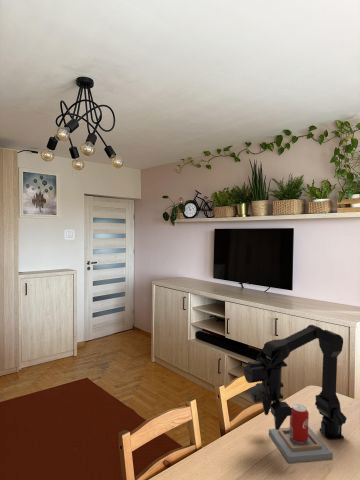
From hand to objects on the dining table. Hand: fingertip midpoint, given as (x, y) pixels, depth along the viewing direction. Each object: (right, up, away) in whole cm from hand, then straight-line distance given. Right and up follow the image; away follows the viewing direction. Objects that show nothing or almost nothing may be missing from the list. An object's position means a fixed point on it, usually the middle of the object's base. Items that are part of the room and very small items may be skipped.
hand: (271, 421), depth 122 cm
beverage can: (+10, -8, +2) cm, 13 cm away
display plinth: (+10, -10, +2) cm, 14 cm away
